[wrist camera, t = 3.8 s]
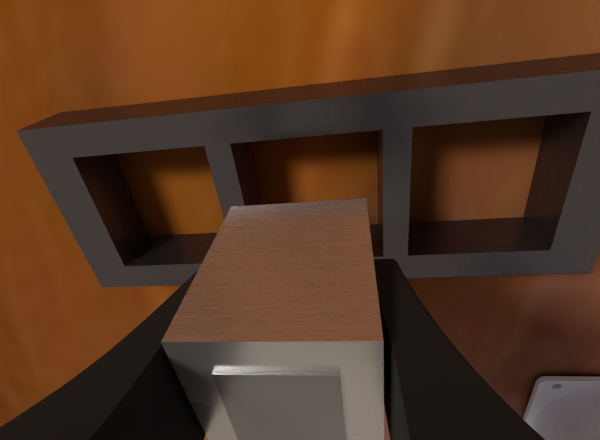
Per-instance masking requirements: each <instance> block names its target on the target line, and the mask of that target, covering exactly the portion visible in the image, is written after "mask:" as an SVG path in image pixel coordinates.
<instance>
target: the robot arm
mask: <svg viewBox="0 0 600 440" xmlns="http://www.w3.org/2000/svg"><path fill="white" fill-rule="evenodd" d="M374 267H375V275H376V283H377V292H378V300H379V308H380V316H381V324H382V332H383V341H384V406H385V411H386V417H387V422H388V428H389V433H390V439H391V440H600V377H594V376H543V377H540V378H538V379H537V380H536V383H535V385H534V388H533V391H532V394H531V397H530V400H529V402H528V405H527V408H526V411H525V414H524V417H523V419H522V418H521V417H520V416H519V415H518V414H517V413H516V412H515V411H514V410H513V409H512V408H511V407H510V406H509V405H508V404H507V403H506V402H505V401H504V400H503V399H502V398H501V397H500V396H499V395H498V394H497V393H496V392H495V391H494V390H493V389H492V388H491V387H490V386H489V385H488V384H487V383H486V381H485V380H484V379H483V378H482V377H481V376H480V375H479V374H478V373H477V372H476V371H475V370H474V368H473V367H472V366H471V365H470V364H469V363H468V362H467V361H466V359H465V358H464V357H463V356H462V355H461V354H460V352H459V351H458V350H457V349H456V347H455V346H454V345H453V344H452V343H451V341H450V340H449V339H448V338H447V336H446V335H445V334H444V333H443V331H442V330H441V329H440V327H439V326H438V325H437V324H436V322H435V321H434V319H433V318H432V317H431V315H430V314H429V312H428V311H427V310H426V308H425V307H424V305H423V304H422V303H421V301H420V300H419V298H418V297H417V295H416V294H415V292H414V290H413V289H412V287H411V286H410V284H409V282H408V281H407V279H406V277H405V276H404V274H403V272H402V270H401V268H400V266H399V264H398V262H397V261H396V260H395V259H374ZM197 272H198V271H197ZM197 272H195V273H194V274H193V275H192V276H191V277H190V278H189V279H188V280H187V281H186V282H185V283H184V284H183V285H182V286H181V287H180V288H179V289H178V290H176V291H175V292H174V293H173V294H172V295H171V296H170V297H169V298H168V299H167V300H166V301H165V302H164V303H163V304H162V305H161V306H160V307H158V308H157V309H156V310H155V311H154V312H153V313H152V314H151V315H150V316H149V317H148V318H147V319H146V320H144V321H143V322H142V323H141V324H140V325H139V326H137V327H136V328H135V329H134V330H133V331H132V332H131V333H129V334H128V335H127V336H126V337H125V338H124V339H122V340H121V341H120V342H119V343H118V344H117V345H116V346H114V347H113V348H112V349H111V350H109V351H108V352H107V353H106V354H105V355H103V356H102V357H101V358H99V359H98V360H97V361H96V362H94V363H93V364H92V365H90V366H89V367H88V368H86V369H85V370H84V371H82V372H81V373H80V374H78V375H77V376H76V377H74V378H73V379H72V380H70V381H69V382H68V383H66V384H65V385H63V386H62V387H61V388H59V389H58V390H56V391H55V392H53V393H52V394H50V395H49V396H47V397H46V398H44V399H43V400H41V401H40V402H38V403H37V404H35V405H34V406H32V407H31V408H29V409H28V410H26V411H25V412H23V413H22V414H20V415H19V416H17V417H16V418H14V419H13V420H11V421H10V422H8V423H6V424H5V425H3V426H1V427H0V440H204V437H205V432H204V430H203V428H202V426H201V424H200V422H199V420H198V418H197V416H196V414H195V412H194V410H193V408H192V405H191V403H190V401H189V399H188V397H187V395H186V393H185V391H184V389H183V387H182V385H181V383H180V381H179V379H178V376H177V374H176V372H175V370H174V368H173V366H172V364H171V362H170V360H169V358H168V356H167V354H166V352H165V350H164V347H163V345H162V343H161V341H162V339H163V337H164V335H165V333H166V331H167V329H168V328H169V326H170V324H171V322H172V320H173V318H174V316H175V314H176V312H177V310H178V308H179V306H180V304H181V303H182V301H183V299H184V297H185V295H186V293H187V291H188V289H189V287H190V285H191V283H192V281H193V279H194V277H195V276H196V274H197Z"/></svg>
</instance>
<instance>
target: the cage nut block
mask: <svg viewBox="0 0 600 440" xmlns="http://www.w3.org/2000/svg"><path fill="white" fill-rule="evenodd" d="M161 343H162V345H163V347H164V350H165V352H166V354H167V356H168V358H169V360H170V362H171V364H172V366H173V368H174V370H175V372H176V374H177V376H178V379H179V381H180V383H181V385H182V387H183V389H184V391H185V393H186V395H187V397H188V399H189V401H190V403H191V405H192V408H193V410H194V412H195V414H196V416H197V418H198V420H199V422H200V424H201V426H202V428H203V430H204V432H205V435H206V437H207V439H208V440H384V341H383V332H382V324H381V316H380V308H379V300H378V292H377V283H376V275H375V267H374V259H373V251H372V242H371V234H370V226H369V218H368V210H367V201H366V198H362V199H346V200H330V201H314V202H298V203H282V204H266V205H250V206H234V207H231V208H230V210H229V212H228V214H227V216H226V218H225V220H224V222H223V224H222V225H221V227H220V229H219V231H218V233H217V235H216V237H215V239H214V241H213V243H212V245H211V247H210V249H209V251H208V252H207V254H206V256H205V258H204V260H203V262H202V264H201V266H200V268H199V270H198V272H197V274H196V276H195V277H194V279H193V281H192V283H191V285H190V287H189V289H188V291H187V293H186V295H185V297H184V299H183V301H182V303H181V304H180V306H179V308H178V310H177V312H176V314H175V316H174V318H173V320H172V322H171V324H170V326H169V328H168V329H167V331H166V333H165V335H164V337H163V339H162V341H161Z"/></svg>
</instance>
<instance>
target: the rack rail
mask: <svg viewBox="0 0 600 440" xmlns="http://www.w3.org/2000/svg"><path fill="white" fill-rule="evenodd" d="M545 115H547V119H546V123H545V128H544V132H543V136H542V141H541V145H540V149H539V153H538V158H537V162H536V166H535V171H534V175H533V179H532V183H531V188H530V192H529V196H528V201H527V205H526V209H525V214H524V217H520V218H500V219H481V220H461V221H441V222H422V223H409V209H410V184H411V158H412V132H413V127H422V126H433V125H445V124H456V123H467V122H478V121H489V120H501V119H512V118H523V117H534V116H545ZM366 131H377V165H378V225H369V226H370V234H371V242H372V251H373V259H395V260H396V261H397V262H398V264H399V266H400V268H401V270H402V272H403V274H404V276H405V277H406V278H435V277H470V276H504V275H539V274H573V273H590V272H591V269H592V266H593V264H594V261H595V259H596V256H597V253H598V251H599V248H600V53H596V54H586V55H577V56H568V57H559V58H550V59H541V60H532V61H523V62H514V63H505V64H496V65H487V66H478V67H469V68H460V69H451V70H442V71H433V72H424V73H415V74H406V75H397V76H388V77H379V78H370V79H361V80H352V81H343V82H333V83H324V84H315V85H306V86H297V87H288V88H279V89H270V90H261V91H252V92H243V93H234V94H225V95H216V96H207V97H198V98H189V99H180V100H171V101H162V102H153V103H144V104H135V105H126V106H117V107H108V108H99V109H90V110H81V111H71V112H62V113H58V114H56V115H53V116H51V117H49V118H46V119H44V120H41V121H39V122H37V123H34V124H32V125H30V126H27V127H25V128H22V129H20V130H18V131H17V132H18V134H19V136H20V138H21V140H22V142H23V143H24V145H25V147H26V149H27V151H28V153H29V154H30V156H31V158H32V160H33V162H34V164H35V165H36V167H37V169H38V171H39V173H40V175H41V176H42V178H43V180H44V182H45V184H46V185H47V187H48V189H49V191H50V193H51V195H52V196H53V198H54V200H55V202H56V204H57V206H58V207H59V209H60V211H61V213H62V215H63V217H64V218H65V220H66V222H67V224H68V226H69V228H70V229H71V231H72V233H73V235H74V237H75V239H76V240H77V242H78V244H79V246H80V248H81V250H82V251H83V253H84V255H85V257H86V259H87V261H88V262H89V264H90V266H91V268H92V270H93V272H94V273H95V275H96V277H97V279H98V281H99V283H100V284H101V286H102V287H124V286H159V285H183V284H184V283H185V282H186V281H187V280H188V279H189V278H190V277H191V276H192V275H193V274H194V273H195V272H197V271H198V270H199V268H200V266H201V264H202V262H203V260H204V258H205V256H206V254H207V252H208V251H209V249H210V247H211V245H212V243H213V241H214V239H215V237H216V235H217V233H206V234H187V235H167V236H148V234H147V232H146V229H145V227H144V224H143V222H142V220H141V217H140V215H139V212H138V210H137V208H136V205H135V203H134V200H133V198H132V195H131V193H130V191H129V188H128V186H127V183H126V181H125V179H124V176H123V174H122V171H121V169H120V167H119V164H118V162H117V159H116V157H115V155H114V154H120V153H131V152H142V151H153V150H164V149H176V148H187V147H198V146H204V147H205V151H206V154H207V158H208V162H209V165H210V169H211V172H212V176H213V180H214V183H215V187H216V191H217V194H218V198H219V202H220V205H221V209H222V212H223V216H224V220H225V218H226V216H227V214H228V212H229V210H230V208H231V207H234V206H250V205H262V202H261V197H260V192H259V187H258V182H257V177H256V173H255V168H254V163H253V158H252V153H251V148H250V143H249V142H254V141H265V140H276V139H288V138H299V137H310V136H321V135H333V134H344V133H355V132H366Z"/></svg>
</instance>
